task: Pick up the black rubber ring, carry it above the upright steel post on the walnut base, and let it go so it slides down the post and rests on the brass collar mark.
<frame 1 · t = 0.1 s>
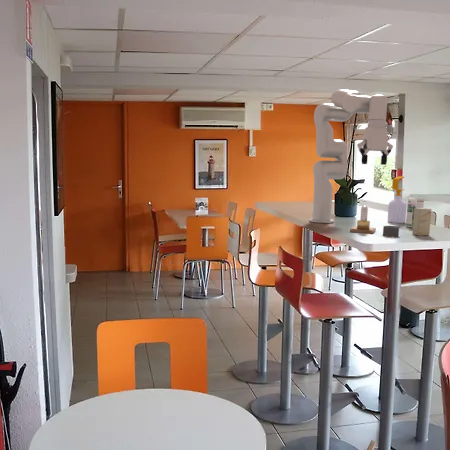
hand: (374, 164, 242), 31 cm above the table, tool pointing down, fingers open, 9 cm apart
post stand: (362, 231, 257), on the table
skincare box: (420, 235, 252), on the table
ring: (390, 235, 246), on the table
soap bottle: (396, 222, 299), on the table
syrup box: (413, 227, 279), on the table
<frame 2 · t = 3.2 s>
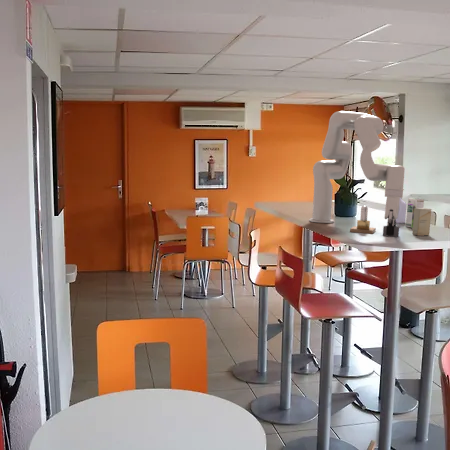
hand: (390, 233, 246), 1 cm above the table, tool pointing down, fingers closed on ring, 6 cm apart
ring: (390, 235, 246), on the table, touching gripper
everything else where it was.
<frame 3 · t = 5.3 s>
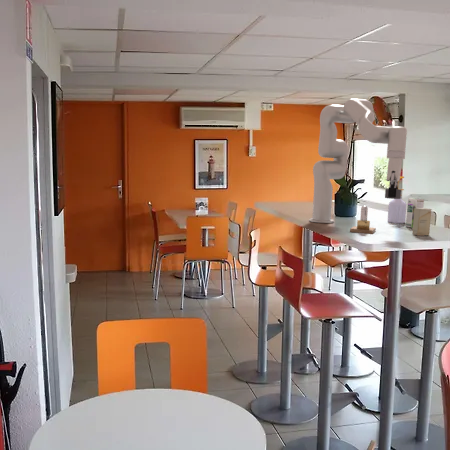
hand: (392, 196, 244), 18 cm above the table, tool pointing down, fingers closed on ring, 6 cm apart
ring: (392, 198, 244), point 17 cm above the table, touching gripper
everything else where it was.
when the fingers open (14 cm above the table, at t = 7.4 s): ring drops 8 cm, resting on post stand.
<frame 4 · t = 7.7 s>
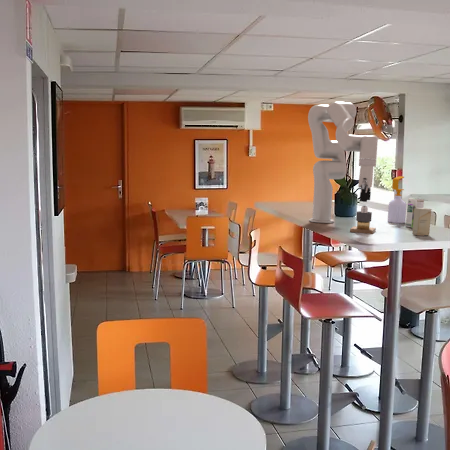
hand: (364, 200, 255), 14 cm above the table, tool pointing down, fingers open, 9 cm apart
ring: (363, 220, 256), point 5 cm above the table, touching post stand
everything else where it was.
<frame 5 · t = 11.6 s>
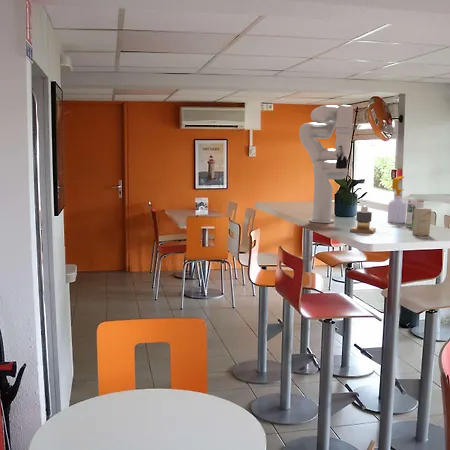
hand: (341, 168, 264), 28 cm above the table, tool pointing down, fingers open, 9 cm apart
nothing on the table moved.
at the end: ring 0.1 cm off-centre on the post stand, point 5.0 cm above the post stand's base; ring tilted 0°; the gripper is holding nothing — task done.
